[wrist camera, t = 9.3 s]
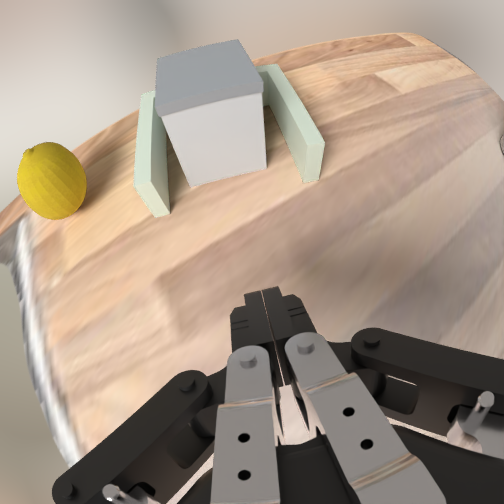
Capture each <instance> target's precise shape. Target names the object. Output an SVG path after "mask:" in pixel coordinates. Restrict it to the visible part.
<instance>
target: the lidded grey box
mask: <svg viewBox="0 0 504 504" xmlns="http://www.w3.org/2000/svg"><path fill="white" fill-rule="evenodd" d="M262 92H264V88H263V80H262V78H261V77H260V75H259V73H258V71H257V70H256V68H255V66H254V65H253V63H252V61H251V60H250V58H249V56H248V55H247V53H246V51H245V50H244V48H243V46H242V45H241V43H240V42H239V40H231V41H226V42H221V43H216V44H212V45H206V46H202V47H198V48H194V49H190V50H186V51H182V52H178V53H175V54H171V55H168V56H165V57H162V58H158V59H157V72H156V89H155V109H156V111H157V114H158V116H159V117H161V118H162V121H163V123H164V126H165V128H166V131H167V133H168V135H169V138H170V140H171V143H172V145H173V148H174V150H175V152H176V155H177V157H178V160H179V162H180V164H181V167H182V169H183V172H184V174H185V176H186V179H187V181H188V183H189V186H190V188H191V187H194V186H198V185H202V184H205V183H209V182H213V181H217V180H221V179H225V178H229V177H233V176H237V175H241V174H246V173H250V172H254V171H259V170H263V169H267V166H266V149H265V133H264V118H263V103H262Z"/></svg>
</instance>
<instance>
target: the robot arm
mask: <svg viewBox="0 0 504 504" xmlns="http://www.w3.org/2000/svg"><path fill="white" fill-rule="evenodd" d="M500 144H501V148H502V151H503V153H504V135H503V136H502V138H501V140H500ZM262 293H263V298H264V302H265V306H264V302H263V298H262V295H261V291H256V292H251V293H247V294H244V298H245V304H246V306H241V307H237V308H234V310H233V311H232V313H231V315H230V323H231V341H232V354H231V355H230V356H229V358H228V361H227V366H226V367H225V368H224V369H222V370H220V371H219V372H217V373H214V374H212V375H209V376H207V377H206V375H205V374H204V373H202V372H200V371H197V370H188V371H184V372H181V373H179V374H178V375H176V376H175V377H173V378H172V379H171V380H170V381H169V382H168V383H167V384H166V385H165V386H164V387H163V388H161V389H160V390H159V391H158V392H157V393H156V394H155V395H154V396H153V397H152V398H151V399H149V400H148V401H147V402H146V403H145V404H144V405H143V406H142V407H141V408H140V409H138V410H137V411H136V412H135V413H134V414H133V415H132V416H131V417H129V418H128V419H127V420H126V421H125V422H124V423H123V424H122V425H120V426H119V427H118V428H117V429H116V430H115V431H114V432H112V433H111V434H110V435H109V436H108V437H107V438H105V439H104V440H103V441H102V442H101V443H100V444H98V445H97V446H96V447H95V448H94V449H93V450H91V451H90V452H89V453H88V454H87V455H86V456H84V457H83V458H82V459H81V460H80V461H78V462H77V463H76V464H75V465H73V466H72V467H71V468H70V469H69V470H67V471H66V472H65V473H64V474H62V475H61V476H60V477H59V478H58V479H57V480H56V481H55V483H54V485H53V488H52V496H53V500H54V502H55V503H56V504H166V503H167V502H168V501H169V500H170V499H171V498H172V497H173V496H174V495H175V494H176V493H177V492H178V491H179V490H180V489H181V488H182V487H183V486H184V485H185V484H186V483H187V481H188V480H189V479H190V478H191V477H192V476H193V475H194V474H195V473H196V472H197V471H198V470H199V468H200V467H201V466H202V465H203V464H204V463H205V462H206V461H207V459H208V458H209V457H210V456H211V455H212V454H213V453H214V459H213V468H211V469H210V470H208V471H207V472H206V473H204V474H203V475H202V476H201V477H200V478H199V479H198V480H197V481H196V482H195V484H194V485H193V486H192V487H191V488H190V489H189V491H188V492H187V493H186V494H185V495H184V496H183V497H182V498H181V500H180V501H179V502H178V503H177V504H504V360H503V359H499V358H494V357H490V356H485V355H481V354H477V353H472V352H468V351H464V350H460V349H456V348H452V347H448V346H444V345H440V344H436V343H432V342H428V341H424V340H420V339H417V338H413V337H409V336H405V335H402V334H398V333H394V332H391V331H387V330H384V329H380V328H366V329H363V330H360V331H358V332H357V333H356V334H355V335H354V336H353V337H352V340H351V342H343V343H334V342H329V341H326V340H325V338H324V337H323V336H322V335H320V334H317V332H316V329H315V327H314V325H313V323H312V321H311V319H310V317H309V315H308V313H307V311H306V309H305V307H304V305H303V303H302V301H301V299H300V298H298V297H297V296H295V295H293V294H292V295H288V296H283V297H282V294H281V292H280V289H279V287H278V286H277V287H273V288H268V289H264V290H262ZM265 307H266V310H265ZM266 311H267V314H266ZM267 316H268V318H267ZM268 320H269V321H268ZM274 344H275V345H274ZM275 348H276V349H275ZM276 352H277V354H276ZM277 356H278V358H277ZM278 359H279V363H280V367H281V371H282V375H283V378H284V382H285V386H286V385H290V384H291V386H292V390H293V394H294V399H295V402H296V405H297V407H298V410H299V413H300V415H301V418H302V420H303V423H304V425H305V428H306V430H307V433H308V435H309V438H310V440H309V441H307V442H305V443H303V444H298V445H286V442H285V434H284V426H283V418H282V410H281V403H280V398H281V396H280V391H279V387H282V386H283V381H282V376H281V372H280V367H279V363H278ZM388 375H390V376H393V377H396V378H399V379H402V380H405V381H408V382H411V383H414V384H416V385H417V386H416V385H413V384H409V383H406V382H403V381H400V380H397V379H394V378H391V377H388ZM385 416H387V417H389V418H392V419H395V420H397V421H400V422H403V423H406V424H409V425H411V426H414V427H417V428H420V429H423V430H426V431H429V432H432V433H436V434H439V435H442V436H446V437H447V440H448V442H449V443H446V442H443V441H440V440H438V439H435V438H432V437H429V436H427V435H424V434H421V433H418V432H416V431H413V430H411V429H408V428H405V427H402V426H398V425H393V424H390V423H389V421H388V420H387V418H386V417H385Z"/></svg>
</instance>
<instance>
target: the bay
mask: <svg viewBox="0 0 504 504" xmlns="http://www.w3.org/2000/svg"><path fill="white" fill-rule="evenodd" d="M255 68H256V70H257V71H258V73H259V75H260V77H261V78H262V80H263V88H264V92H262V103H263V106H267V105H269V106H270V108H271V110H272V112H273V114H274V117H275V119H276V121H277V123H278V125H279V127H280V130H281V132H282V134H283V136H284V139H285V141H286V143H287V145H288V148H289V150H290V152H291V155H292V157H293V159H294V162H295V164H296V166H297V169H298V171H299V174H300V176H301V179H302V181H303V183H307V182H312V181H317V180H319V175H320V169H321V164H322V158H323V152H324V146H325V142H324V140H323V138H322V136H321V134H320V133H319V131H318V129H317V127H316V125H315V124H314V122H313V120H312V119H311V117H310V115H309V113H308V112H307V110H306V108H305V107H304V105H303V103H302V102H301V100H300V99H299V97H298V95H297V94H296V92H295V91H294V89H293V87H292V86H291V84H290V83H289V81H288V80H287V78H286V77H285V75H284V74H283V72H282V71H281V69H280V68H279V66H278V65H277V64H271V65H263V66H256V67H255ZM134 188H135V189H136V191H137V192H138V194H139V195H140V197H141V198H142V200H143V201H144V203H145V204H146V205H147V207H148V208H149V210H150V211H151V213H152V214H153V216H154V217H155V218H157V217H161V216H165V215H168V214H170V204H169V189H168V170H167V143H166V128H165V126H164V123H163V121H162V118H161V117H159V116H158V114H157V111H156V109H155V90H154V91H151V92H148V93H145V94H142V96H141V103H140V111H139V119H138V129H137V139H136V151H135V166H134Z"/></svg>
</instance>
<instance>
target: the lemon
mask: <svg viewBox="0 0 504 504" xmlns="http://www.w3.org/2000/svg"><path fill="white" fill-rule="evenodd" d="M17 184H18V187H19V190H20V193H21V195H22V197H23V199H24V201H25V202H26V203H27V205H28V206H29V207H30V208H31V209H32V210H33V211H35V212H36V213H37V214H38V215H40V216H42V217H44V218H47V219H52V220H59V219H64V218H66V217H68V216H70V215H72V214H73V213H74V212H75V211H76V210H78V208H79V207H80V206H81V204H82V202H83V200H84V198H85V195H86V189H87V181H86V175H85V172H84V170H83V168H82V166H81V164H80V162H79V160H78V159H77V158H76V157H75V155H74V154H73V153H71V152H70V151H69V150H68V149H66V148H65V147H63V146H62V145H60V144H57V143H53V142H46V143H41V144H38V145H36V146H34V147H33V148H31V149H27V150H26V151H25V152H24V153H23V158H22V160H21V163H20V165H19V168H18V173H17Z"/></svg>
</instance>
